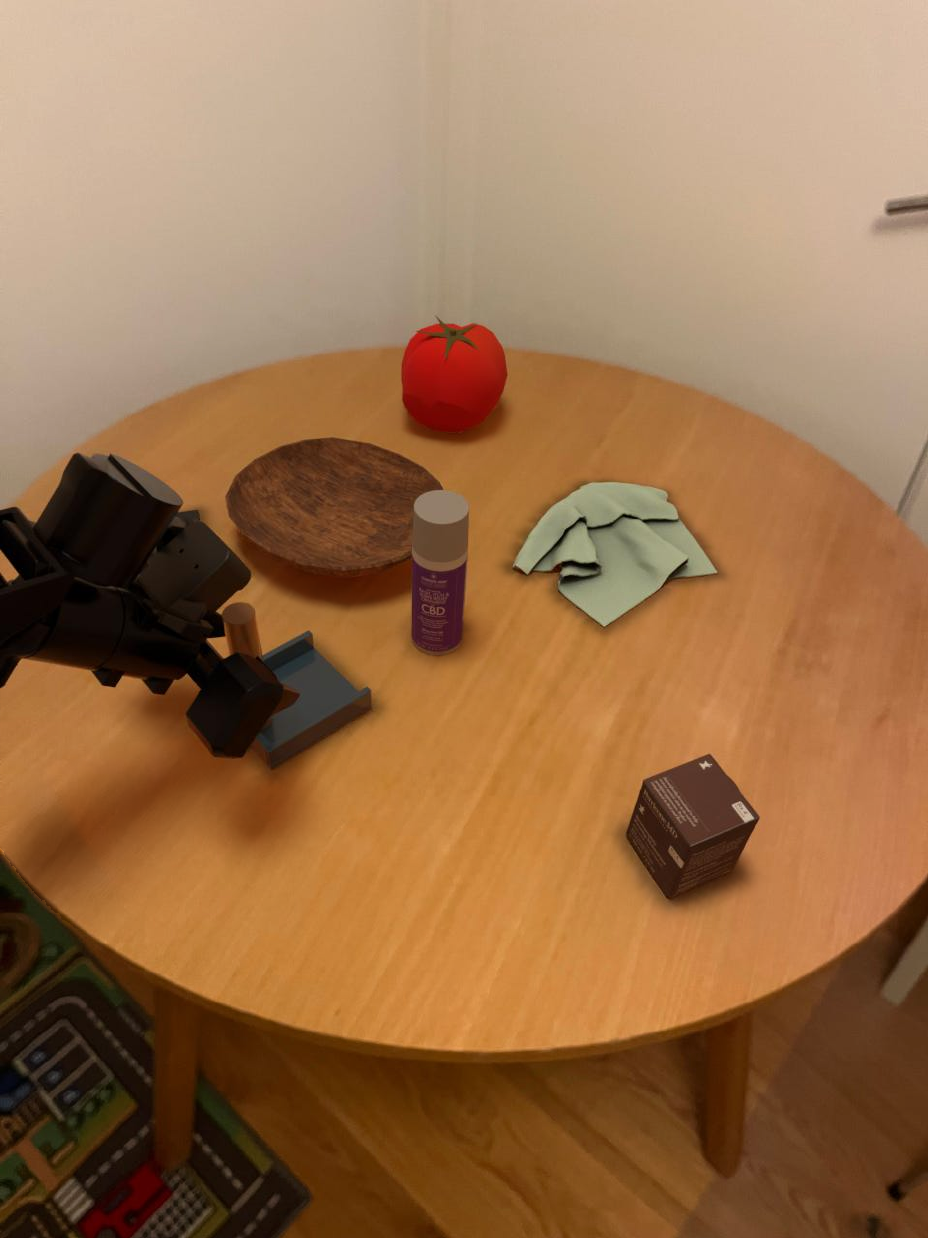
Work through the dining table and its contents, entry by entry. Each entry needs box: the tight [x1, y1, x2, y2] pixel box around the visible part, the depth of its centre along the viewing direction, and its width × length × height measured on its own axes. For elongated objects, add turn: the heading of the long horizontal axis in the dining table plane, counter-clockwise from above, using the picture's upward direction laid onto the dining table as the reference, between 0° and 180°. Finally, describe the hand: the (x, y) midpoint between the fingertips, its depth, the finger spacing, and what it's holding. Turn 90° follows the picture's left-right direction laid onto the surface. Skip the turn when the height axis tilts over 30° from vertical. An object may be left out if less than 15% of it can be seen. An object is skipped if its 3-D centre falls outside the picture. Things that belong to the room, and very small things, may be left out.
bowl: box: [224, 436, 444, 578], centre depth 92 cm, size 20×22×5 cm
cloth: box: [512, 481, 718, 628], centre depth 93 cm, size 20×22×2 cm
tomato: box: [400, 315, 508, 434], centre depth 106 cm, size 12×13×12 cm
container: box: [411, 489, 470, 656], centre depth 79 cm, size 5×5×15 cm
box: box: [625, 753, 761, 899], centre depth 66 cm, size 6×6×7 cm
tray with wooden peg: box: [221, 601, 373, 771], centre depth 73 cm, size 10×9×13 cm
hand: (263, 662), depth 72 cm, fingers open, 9 cm apart
